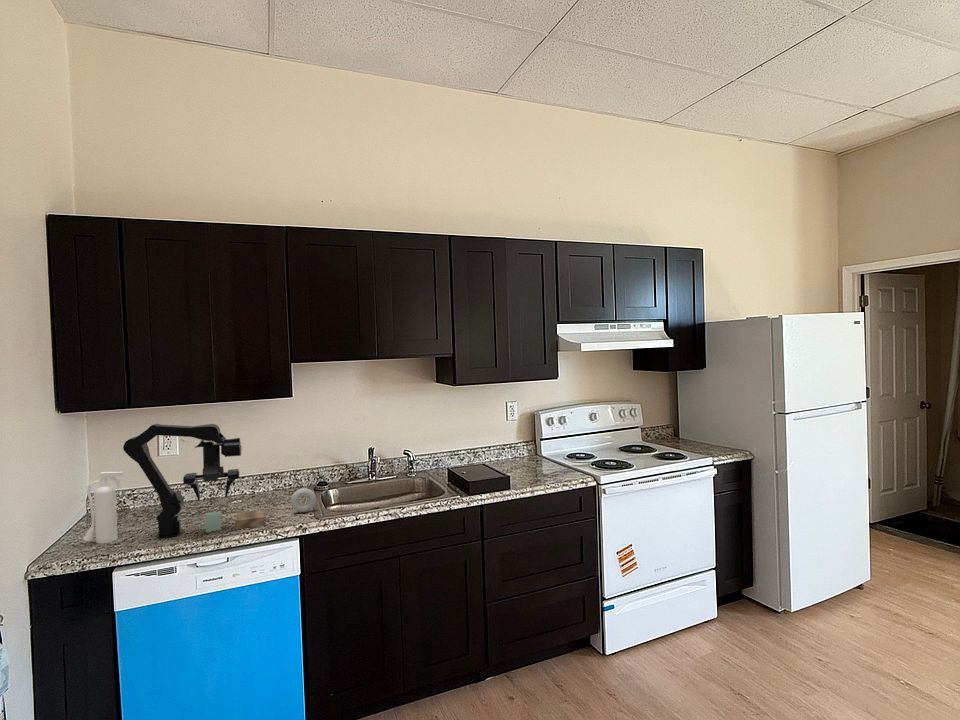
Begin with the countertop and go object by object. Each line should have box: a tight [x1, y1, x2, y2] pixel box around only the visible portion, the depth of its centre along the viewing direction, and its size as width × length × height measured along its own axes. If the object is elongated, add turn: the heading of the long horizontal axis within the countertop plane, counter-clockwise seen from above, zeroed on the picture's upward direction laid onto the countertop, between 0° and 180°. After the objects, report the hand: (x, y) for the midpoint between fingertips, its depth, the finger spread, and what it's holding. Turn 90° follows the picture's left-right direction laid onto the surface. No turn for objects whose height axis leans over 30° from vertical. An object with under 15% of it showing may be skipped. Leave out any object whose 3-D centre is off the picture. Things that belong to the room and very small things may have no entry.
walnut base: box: [235, 509, 266, 531], centre depth 209 cm, size 10×10×4 cm
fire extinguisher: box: [82, 471, 124, 544], centre depth 195 cm, size 7×12×25 cm, turn 116°
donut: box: [290, 487, 317, 513], centre depth 223 cm, size 10×4×10 cm, turn 112°
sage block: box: [204, 511, 222, 533], centre depth 204 cm, size 5×5×6 cm
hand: (212, 498), depth 204 cm, fingers open, 9 cm apart
